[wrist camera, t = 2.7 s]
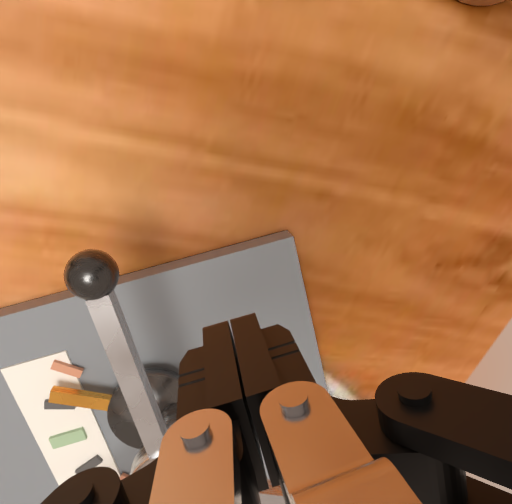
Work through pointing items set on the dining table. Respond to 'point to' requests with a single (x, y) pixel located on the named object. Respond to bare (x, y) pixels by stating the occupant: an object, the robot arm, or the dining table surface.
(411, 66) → the dining table surface
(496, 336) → the dining table surface
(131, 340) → the capstan
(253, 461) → the robot arm
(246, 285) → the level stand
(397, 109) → the dining table surface
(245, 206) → the dining table surface
